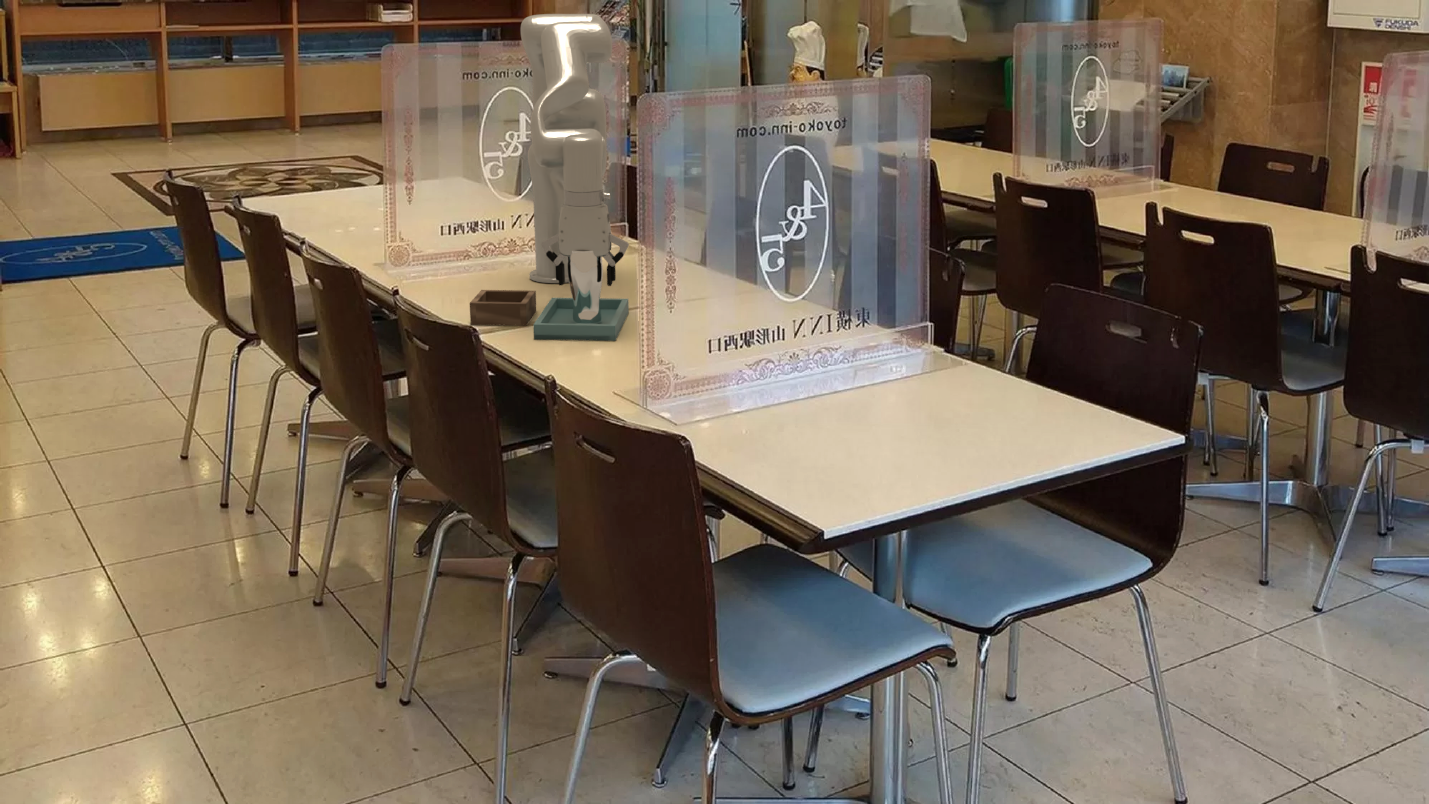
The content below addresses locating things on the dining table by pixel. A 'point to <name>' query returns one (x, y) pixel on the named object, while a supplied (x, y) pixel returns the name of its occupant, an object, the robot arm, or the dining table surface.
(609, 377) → the dining table surface
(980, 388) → the dining table surface
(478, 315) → the box
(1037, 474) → the dining table surface
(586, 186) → the robot arm
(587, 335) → the tray
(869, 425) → the dining table surface
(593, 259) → the beer glass
